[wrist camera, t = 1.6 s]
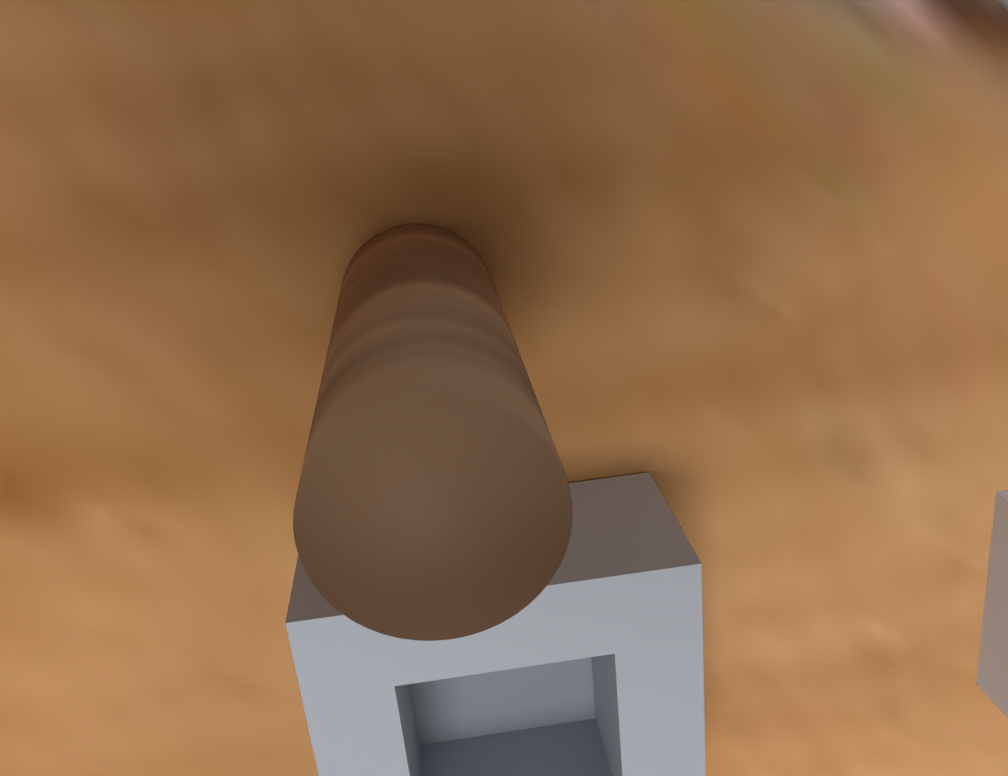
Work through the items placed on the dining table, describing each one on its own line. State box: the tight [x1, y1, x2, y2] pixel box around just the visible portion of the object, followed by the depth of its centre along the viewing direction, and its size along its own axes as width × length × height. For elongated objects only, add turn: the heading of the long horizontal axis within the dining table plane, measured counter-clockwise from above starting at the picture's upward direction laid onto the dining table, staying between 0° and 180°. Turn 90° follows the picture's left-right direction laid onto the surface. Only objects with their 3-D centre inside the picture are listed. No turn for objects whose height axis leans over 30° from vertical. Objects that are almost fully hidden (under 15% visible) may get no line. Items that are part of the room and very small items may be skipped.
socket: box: [286, 472, 706, 776], centre depth 26 cm, size 10×10×5 cm
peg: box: [293, 224, 573, 641], centre depth 19 cm, size 4×4×12 cm
